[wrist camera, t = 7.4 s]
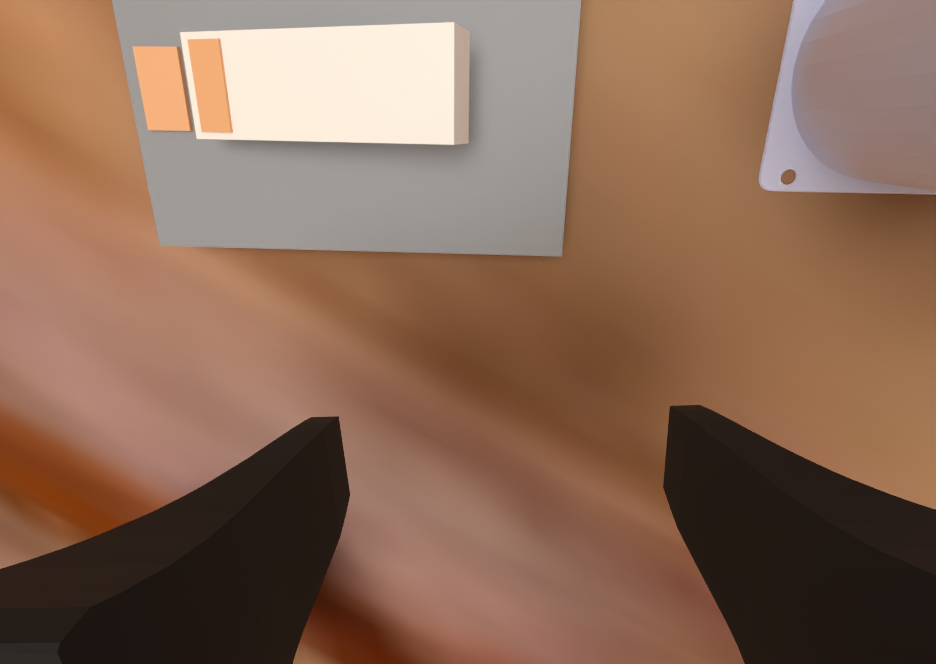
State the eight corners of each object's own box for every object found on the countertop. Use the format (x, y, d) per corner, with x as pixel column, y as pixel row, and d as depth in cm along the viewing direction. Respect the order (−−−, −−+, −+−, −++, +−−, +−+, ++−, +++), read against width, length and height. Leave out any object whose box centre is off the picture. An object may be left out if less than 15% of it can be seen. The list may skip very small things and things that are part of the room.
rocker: (469, 31, 14) (453, 21, 13) (468, 143, 15) (452, 144, 14) (214, 39, 16) (176, 31, 15) (228, 138, 17) (194, 139, 16)
